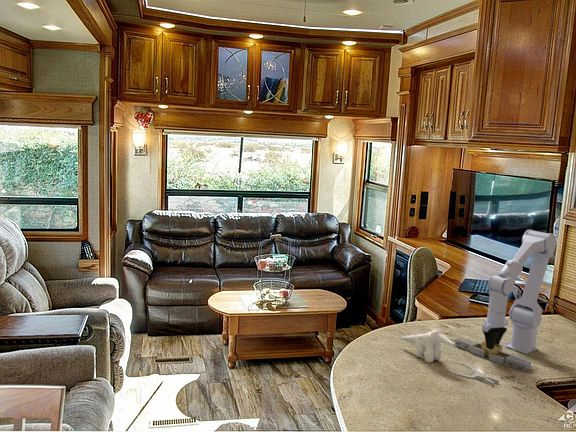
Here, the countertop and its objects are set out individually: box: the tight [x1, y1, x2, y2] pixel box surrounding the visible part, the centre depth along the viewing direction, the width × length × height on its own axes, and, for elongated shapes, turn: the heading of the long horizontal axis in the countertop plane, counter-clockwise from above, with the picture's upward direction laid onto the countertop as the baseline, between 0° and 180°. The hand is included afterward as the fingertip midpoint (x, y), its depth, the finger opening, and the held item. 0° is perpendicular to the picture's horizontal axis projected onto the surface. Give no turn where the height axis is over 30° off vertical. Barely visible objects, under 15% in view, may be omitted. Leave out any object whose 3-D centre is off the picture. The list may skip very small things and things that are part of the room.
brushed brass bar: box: [481, 340, 503, 358], centre depth 182 cm, size 3×6×4 cm, turn 41°
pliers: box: [445, 362, 500, 387], centre depth 166 cm, size 10×2×15 cm
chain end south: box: [454, 336, 486, 358], centre depth 188 cm, size 6×12×2 cm, turn 40°
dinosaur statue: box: [397, 328, 455, 363], centre depth 177 cm, size 7×24×11 cm, turn 36°
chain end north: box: [488, 350, 533, 373], centre depth 177 cm, size 6×12×2 cm, turn 40°
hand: (492, 347), depth 182 cm, fingers closed on brushed brass bar, 3 cm apart
